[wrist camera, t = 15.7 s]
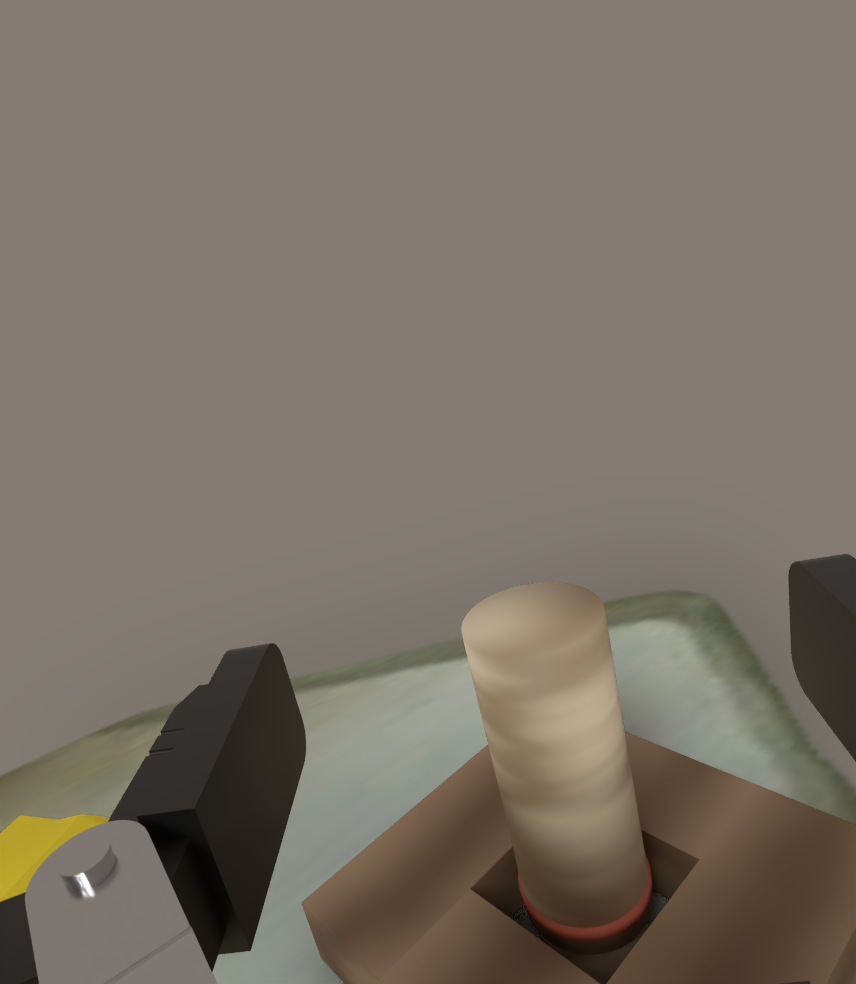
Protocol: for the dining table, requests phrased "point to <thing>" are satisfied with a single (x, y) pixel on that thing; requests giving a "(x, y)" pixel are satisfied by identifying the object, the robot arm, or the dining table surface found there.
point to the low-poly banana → (34, 847)
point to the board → (675, 874)
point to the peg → (562, 768)
